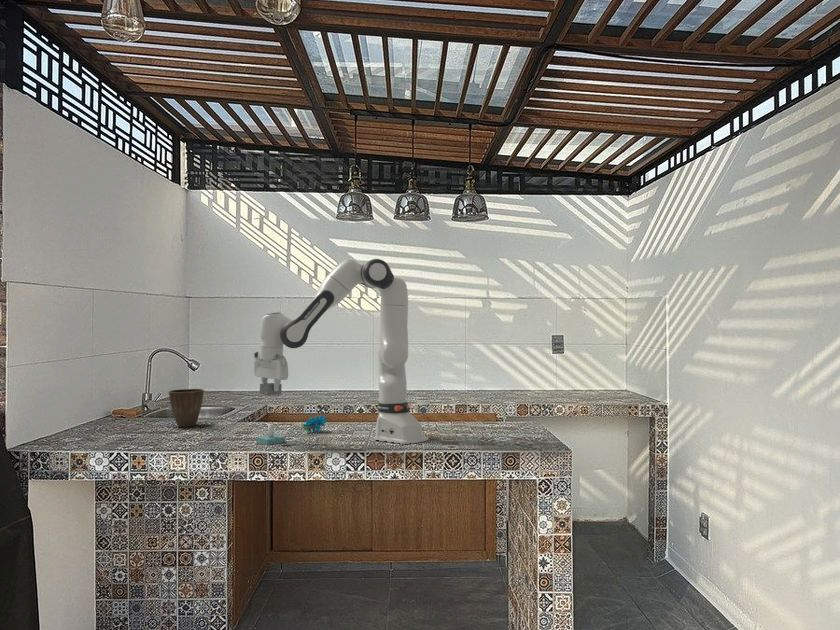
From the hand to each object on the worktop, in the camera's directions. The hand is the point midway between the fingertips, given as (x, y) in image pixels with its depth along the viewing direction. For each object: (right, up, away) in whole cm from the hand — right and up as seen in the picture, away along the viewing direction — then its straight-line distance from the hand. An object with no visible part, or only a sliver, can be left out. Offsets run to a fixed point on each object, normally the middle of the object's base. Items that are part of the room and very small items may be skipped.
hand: (270, 390), depth 252 cm
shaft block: (0, -20, 0) cm, 20 cm away
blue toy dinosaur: (+13, -21, +22) cm, 33 cm away
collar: (0, -2, 0) cm, 2 cm away
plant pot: (-47, -21, +41) cm, 66 cm away
